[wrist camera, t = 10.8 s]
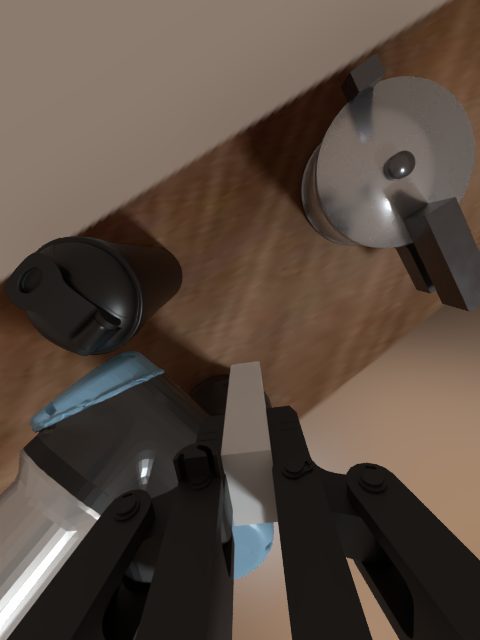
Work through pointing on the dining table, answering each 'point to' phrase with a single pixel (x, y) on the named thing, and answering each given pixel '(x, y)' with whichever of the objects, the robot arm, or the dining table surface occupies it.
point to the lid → (403, 175)
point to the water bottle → (93, 291)
